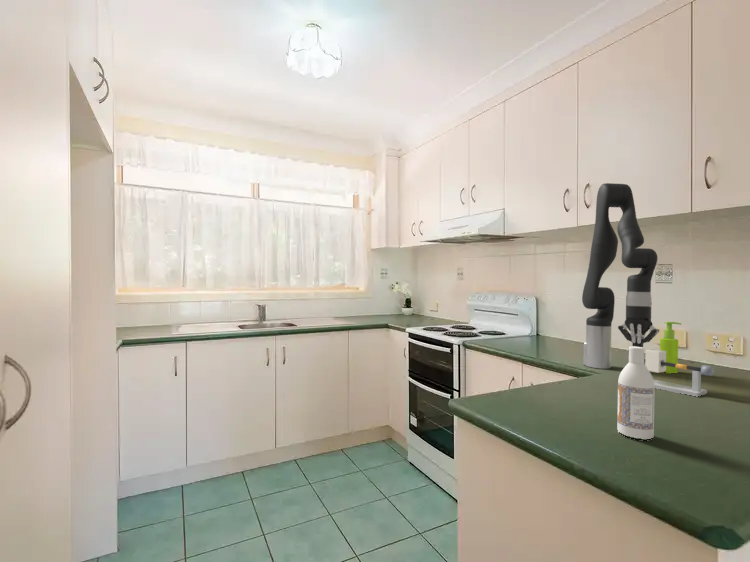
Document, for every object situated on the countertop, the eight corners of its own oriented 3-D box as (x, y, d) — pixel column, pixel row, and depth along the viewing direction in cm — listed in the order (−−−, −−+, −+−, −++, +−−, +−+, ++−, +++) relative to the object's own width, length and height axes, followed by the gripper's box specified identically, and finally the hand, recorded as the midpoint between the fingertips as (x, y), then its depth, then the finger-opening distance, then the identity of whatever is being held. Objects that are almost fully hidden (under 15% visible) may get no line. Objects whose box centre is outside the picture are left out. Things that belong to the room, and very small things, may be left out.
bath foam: (619, 427, 96) (621, 343, 96) (655, 435, 91) (656, 347, 91) (614, 435, 90) (616, 347, 90) (651, 444, 86) (653, 350, 86)
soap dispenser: (683, 374, 156) (684, 323, 156) (663, 373, 157) (664, 322, 157) (675, 371, 162) (676, 321, 162) (656, 369, 163) (657, 320, 163)
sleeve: (645, 370, 137) (645, 350, 137) (652, 368, 140) (652, 349, 140) (658, 372, 133) (658, 352, 133) (665, 370, 136) (666, 351, 136)
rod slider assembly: (627, 382, 140) (627, 355, 140) (638, 380, 145) (638, 353, 145) (706, 399, 122) (707, 367, 122) (716, 395, 126) (716, 365, 126)
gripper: (613, 303, 145) (612, 351, 145) (654, 306, 134) (654, 357, 134) (623, 303, 149) (622, 350, 149) (664, 305, 138) (663, 356, 138)
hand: (637, 353), depth 141 cm, fingers closed
